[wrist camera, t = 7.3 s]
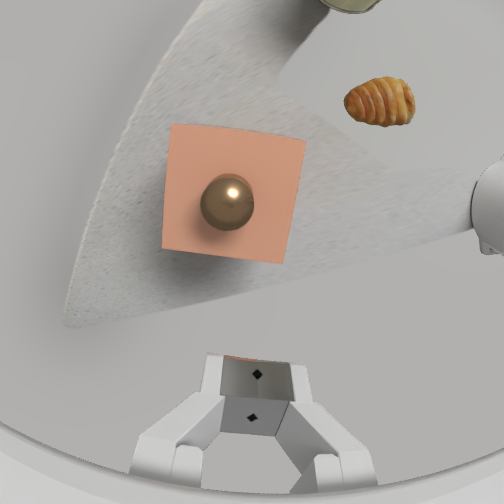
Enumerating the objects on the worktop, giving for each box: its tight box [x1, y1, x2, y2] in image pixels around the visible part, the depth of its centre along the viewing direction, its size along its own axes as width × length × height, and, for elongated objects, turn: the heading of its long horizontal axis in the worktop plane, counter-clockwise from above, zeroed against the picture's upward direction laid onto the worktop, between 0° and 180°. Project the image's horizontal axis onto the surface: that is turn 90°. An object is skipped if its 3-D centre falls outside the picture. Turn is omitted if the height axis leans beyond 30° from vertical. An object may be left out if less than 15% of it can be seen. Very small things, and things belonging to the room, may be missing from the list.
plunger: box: [200, 173, 254, 231], centre depth 26 cm, size 8×8×13 cm
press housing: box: [162, 124, 306, 264], centre depth 30 cm, size 10×10×16 cm
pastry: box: [344, 77, 415, 127], centre depth 33 cm, size 9×7×4 cm
